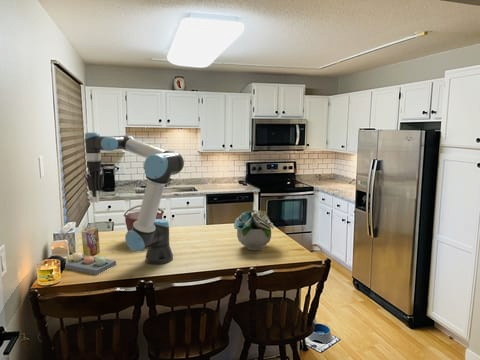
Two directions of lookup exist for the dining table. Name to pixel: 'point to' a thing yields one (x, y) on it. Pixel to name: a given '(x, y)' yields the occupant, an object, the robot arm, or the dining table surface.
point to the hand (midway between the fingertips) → (96, 202)
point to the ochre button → (77, 257)
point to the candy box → (90, 242)
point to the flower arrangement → (253, 229)
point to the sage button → (100, 261)
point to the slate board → (89, 266)
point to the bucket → (133, 217)
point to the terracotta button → (88, 260)
